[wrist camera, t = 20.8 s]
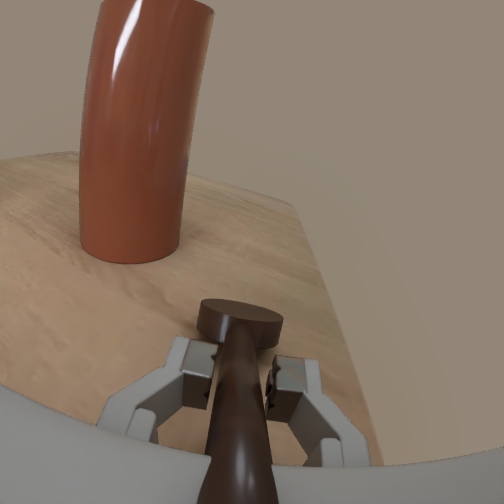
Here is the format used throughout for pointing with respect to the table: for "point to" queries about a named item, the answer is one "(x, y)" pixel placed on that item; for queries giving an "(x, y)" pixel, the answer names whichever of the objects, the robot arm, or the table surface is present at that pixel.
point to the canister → (139, 126)
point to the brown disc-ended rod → (238, 405)
